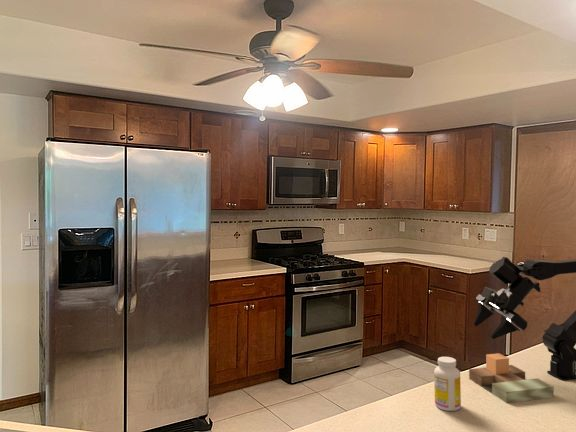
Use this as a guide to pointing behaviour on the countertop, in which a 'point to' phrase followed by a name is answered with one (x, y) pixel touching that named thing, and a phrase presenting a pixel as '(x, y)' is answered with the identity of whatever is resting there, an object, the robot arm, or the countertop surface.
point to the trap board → (511, 385)
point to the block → (497, 363)
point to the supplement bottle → (447, 385)
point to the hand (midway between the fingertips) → (483, 331)
